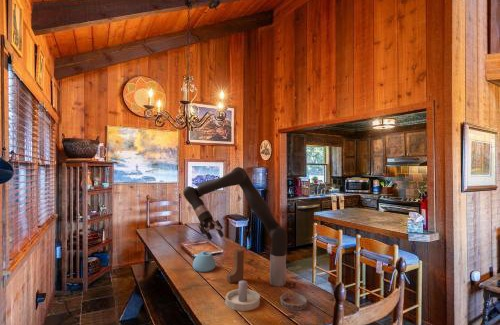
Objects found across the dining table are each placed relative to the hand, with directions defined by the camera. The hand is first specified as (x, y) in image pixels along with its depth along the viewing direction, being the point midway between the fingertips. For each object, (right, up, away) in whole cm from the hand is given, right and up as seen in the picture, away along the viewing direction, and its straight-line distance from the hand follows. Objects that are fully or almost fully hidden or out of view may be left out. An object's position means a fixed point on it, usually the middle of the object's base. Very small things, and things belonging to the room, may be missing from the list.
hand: (216, 237), depth 159 cm
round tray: (+15, -29, -14) cm, 35 cm away
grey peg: (+15, -28, -14) cm, 34 cm away
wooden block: (+9, -29, +12) cm, 33 cm away
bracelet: (+40, -30, -15) cm, 52 cm away
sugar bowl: (-12, -29, +32) cm, 45 cm away
